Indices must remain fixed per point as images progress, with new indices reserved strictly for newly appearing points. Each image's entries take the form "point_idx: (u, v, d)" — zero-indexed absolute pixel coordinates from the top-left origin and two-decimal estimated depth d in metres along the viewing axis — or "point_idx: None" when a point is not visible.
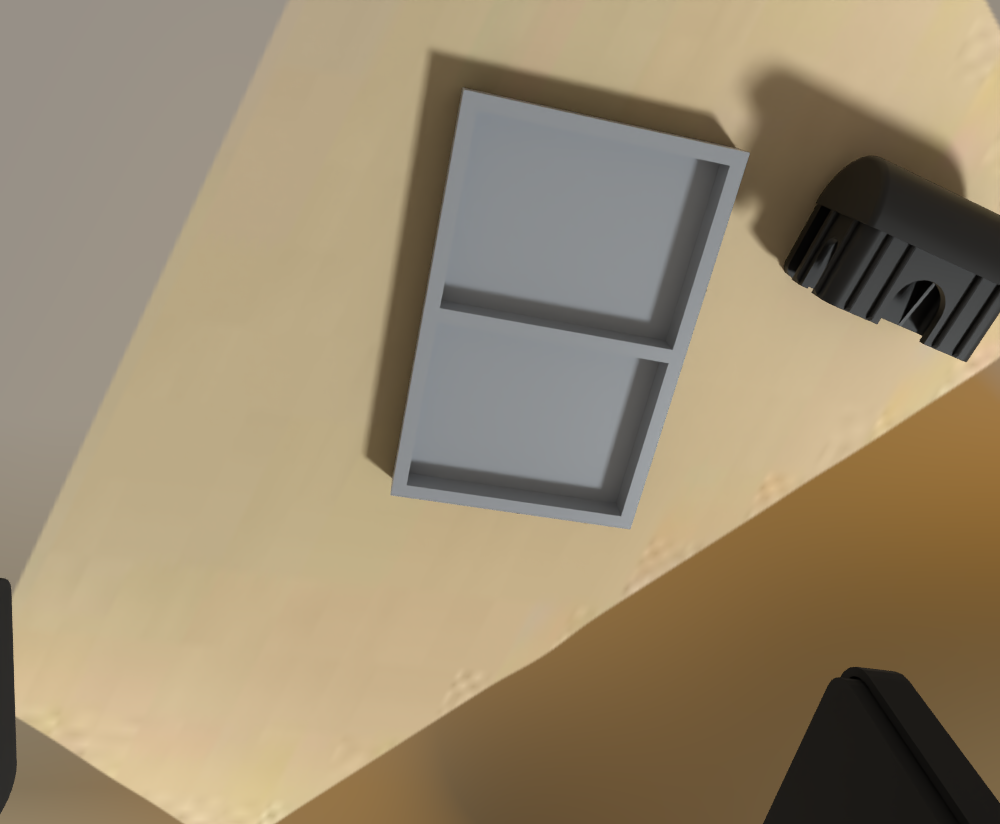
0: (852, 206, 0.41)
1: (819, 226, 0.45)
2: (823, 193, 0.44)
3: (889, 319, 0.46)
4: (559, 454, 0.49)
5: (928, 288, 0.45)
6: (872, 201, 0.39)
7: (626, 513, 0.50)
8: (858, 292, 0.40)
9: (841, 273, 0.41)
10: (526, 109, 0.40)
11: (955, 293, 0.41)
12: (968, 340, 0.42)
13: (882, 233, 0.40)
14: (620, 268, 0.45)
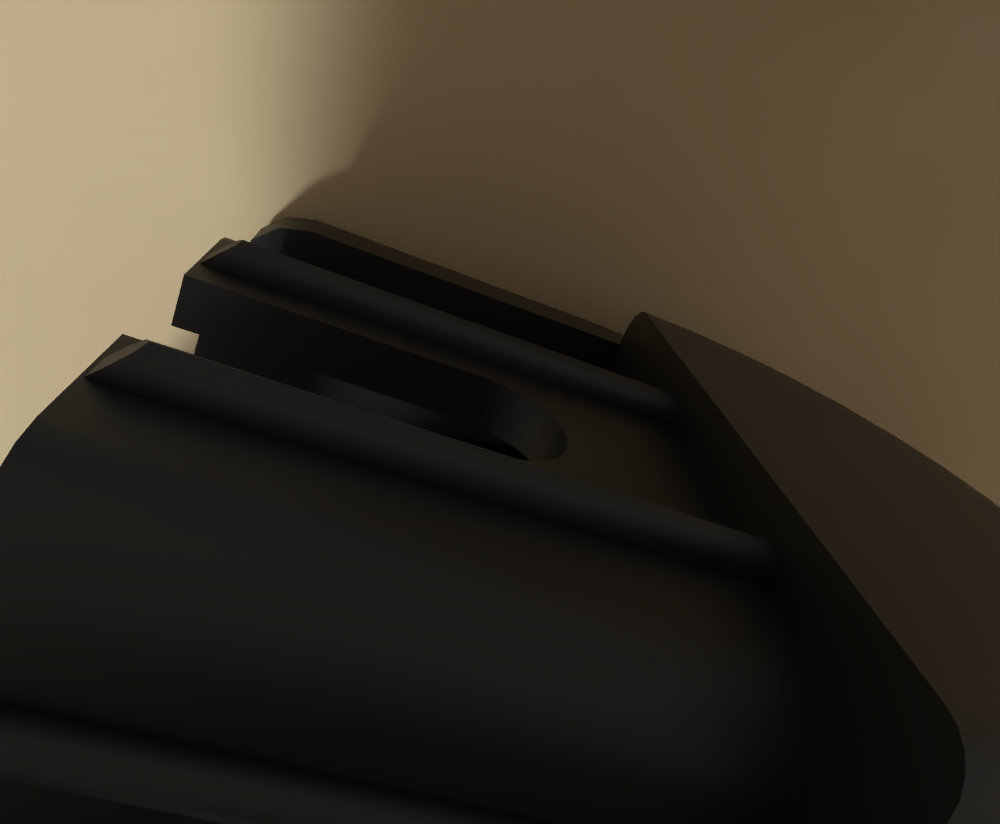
0: (839, 503, 0.05)
1: None
2: (699, 336, 0.09)
3: None
4: None
5: None
6: None
7: None
8: (163, 792, 0.04)
9: (348, 567, 0.04)
10: None
11: None
12: None
13: None
14: None
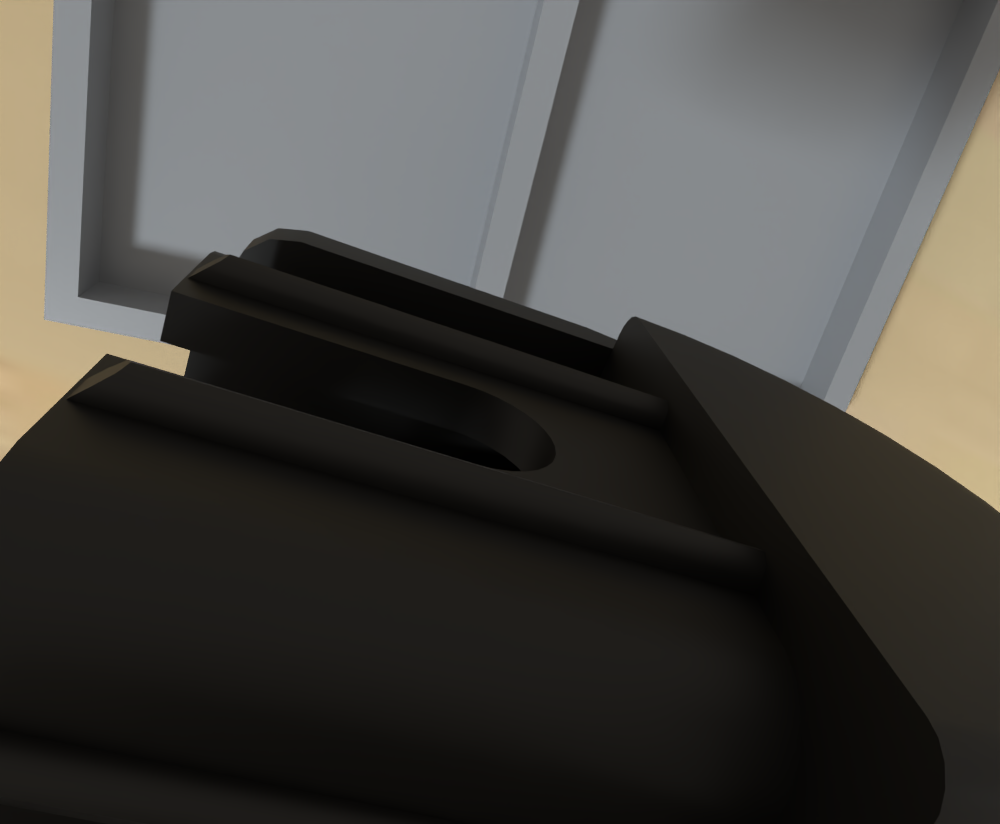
0: (827, 509, 0.05)
1: None
2: (692, 340, 0.09)
3: None
4: (217, 147, 0.22)
5: None
6: None
7: (87, 308, 0.22)
8: (148, 813, 0.04)
9: (327, 586, 0.04)
10: (985, 76, 0.21)
11: None
12: None
13: None
14: (629, 267, 0.24)
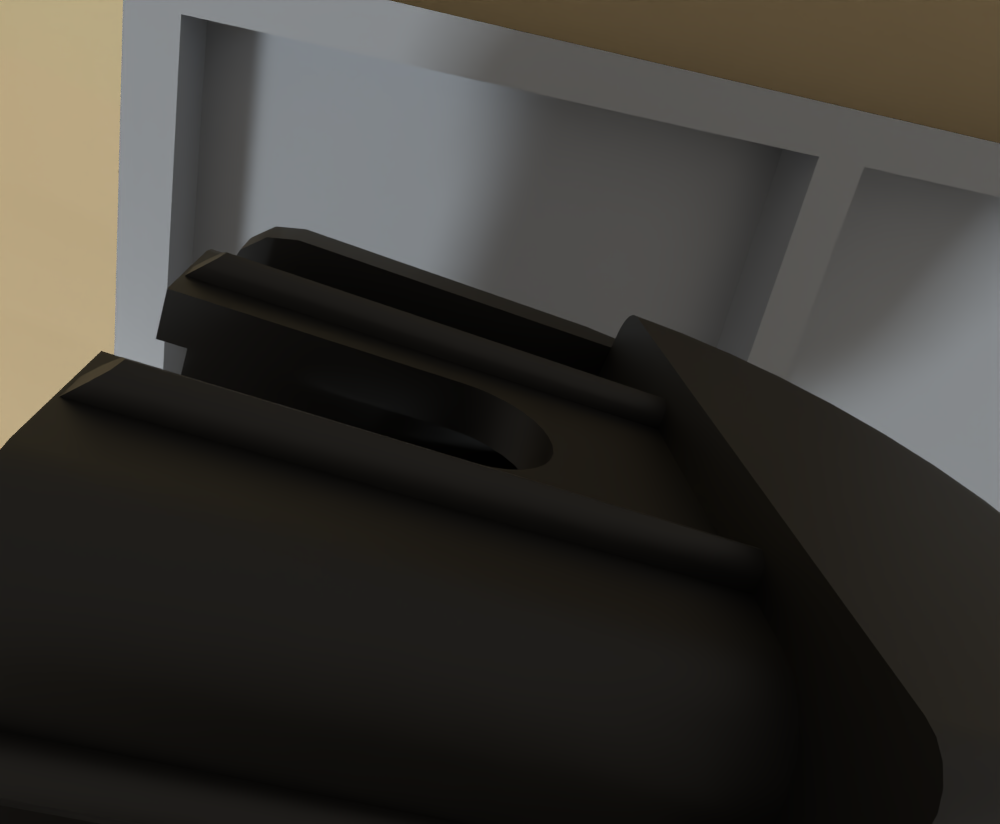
0: (825, 508, 0.05)
1: None
2: (690, 338, 0.08)
3: None
4: None
5: None
6: None
7: None
8: (141, 813, 0.04)
9: (324, 585, 0.04)
10: None
11: None
12: None
13: None
14: None
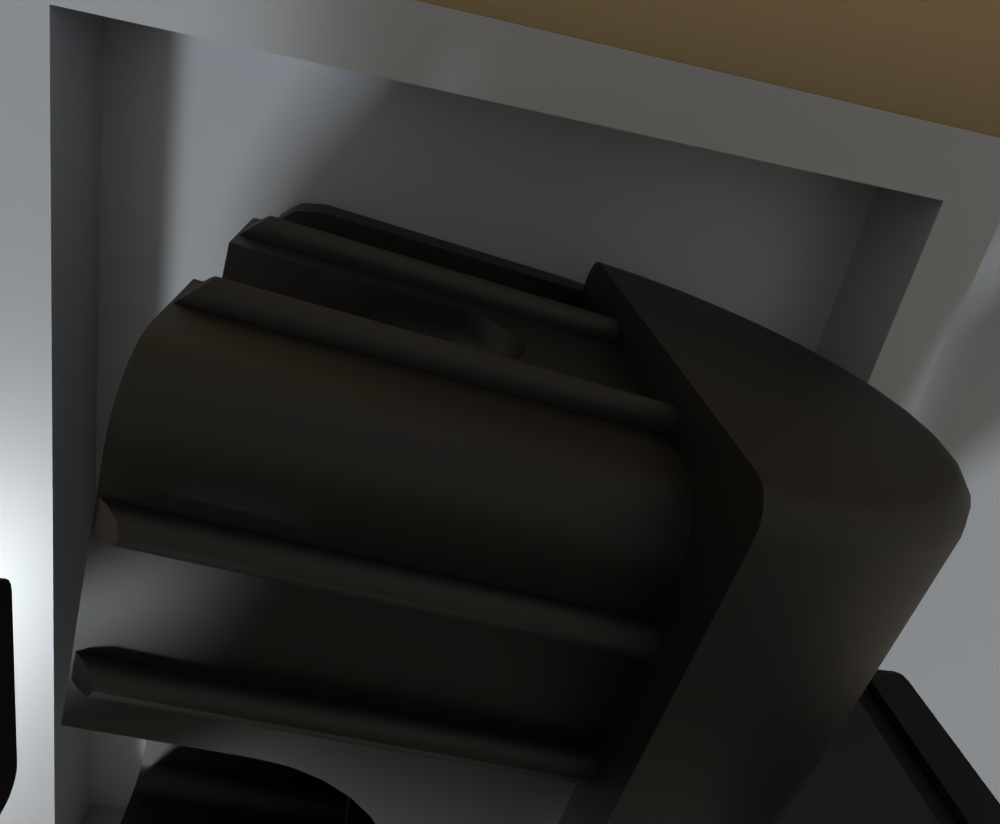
0: (726, 378, 0.07)
1: None
2: (644, 278, 0.10)
3: None
4: None
5: None
6: (856, 472, 0.06)
7: None
8: (248, 559, 0.05)
9: (359, 412, 0.06)
10: None
11: None
12: None
13: (663, 586, 0.06)
14: None
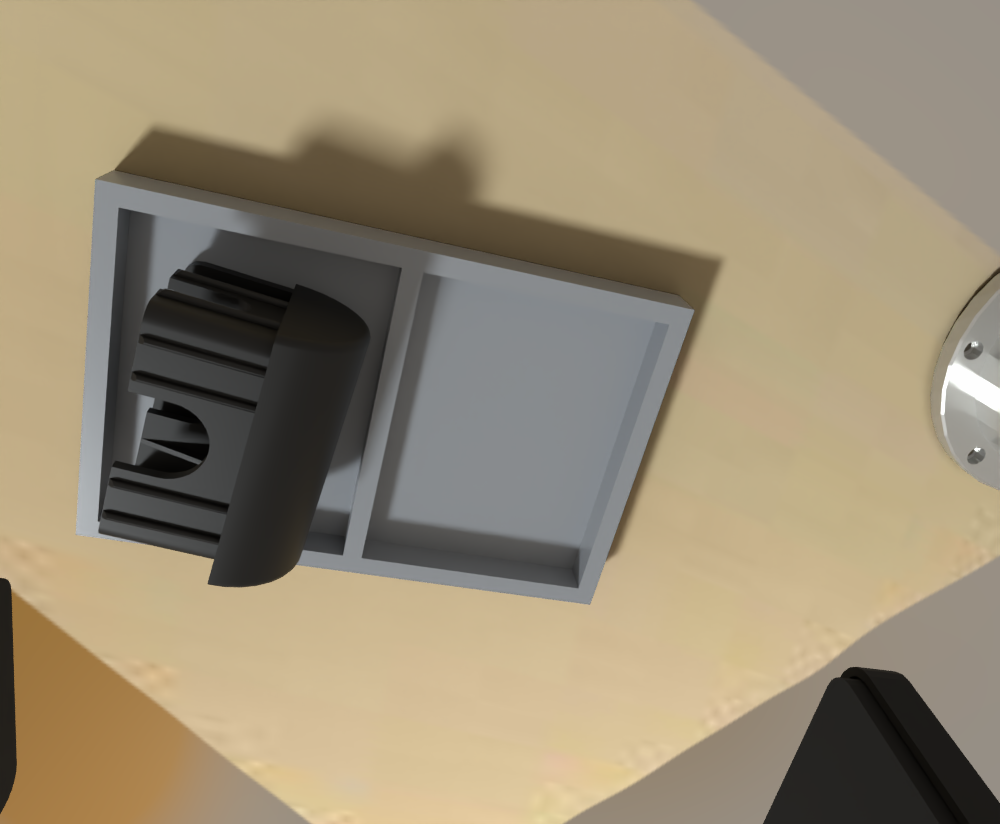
0: (299, 317, 0.28)
1: None
2: (311, 289, 0.31)
3: (146, 424, 0.32)
4: None
5: (201, 461, 0.32)
6: (310, 336, 0.27)
7: None
8: (171, 348, 0.26)
9: (196, 318, 0.26)
10: (663, 380, 0.34)
11: (197, 486, 0.28)
12: (131, 524, 0.29)
13: (267, 361, 0.27)
14: (457, 481, 0.37)
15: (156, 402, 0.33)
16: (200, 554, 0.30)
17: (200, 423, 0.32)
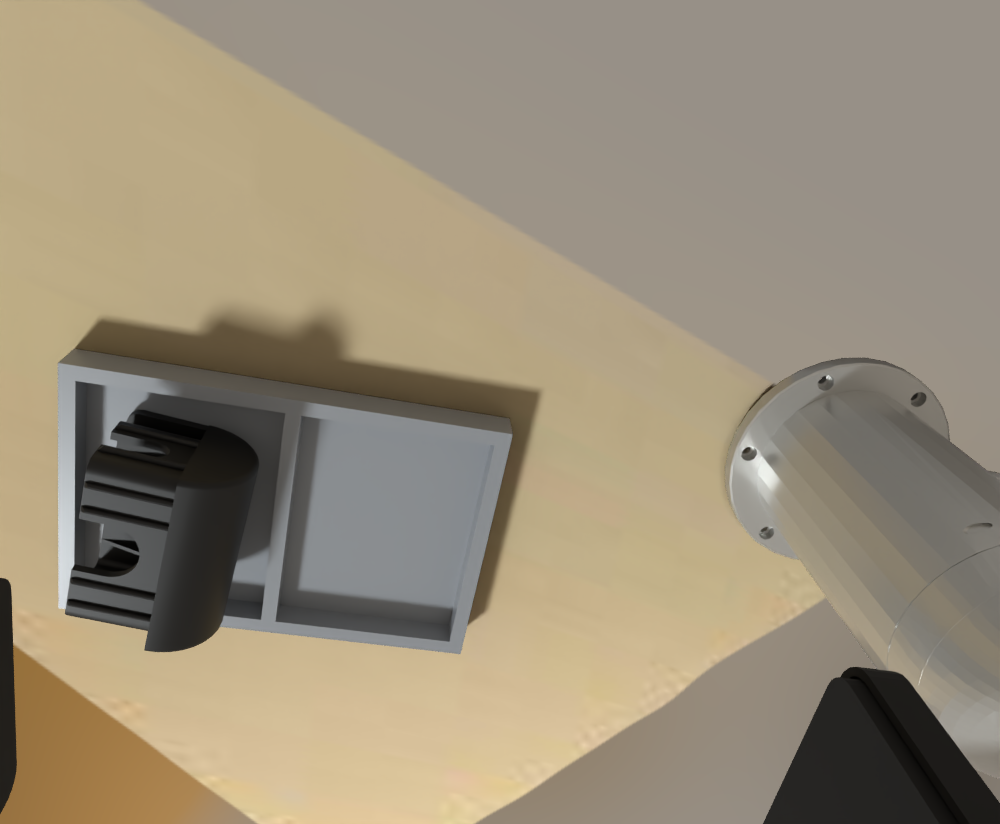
0: (201, 460, 0.39)
1: (187, 434, 0.43)
2: (220, 429, 0.42)
3: (105, 528, 0.43)
4: None
5: None
6: (205, 477, 0.38)
7: None
8: (106, 490, 0.37)
9: (124, 468, 0.37)
10: (495, 485, 0.44)
11: (133, 581, 0.40)
12: (88, 609, 0.40)
13: (175, 496, 0.38)
14: (349, 560, 0.47)
15: None
16: (139, 628, 0.41)
17: None
